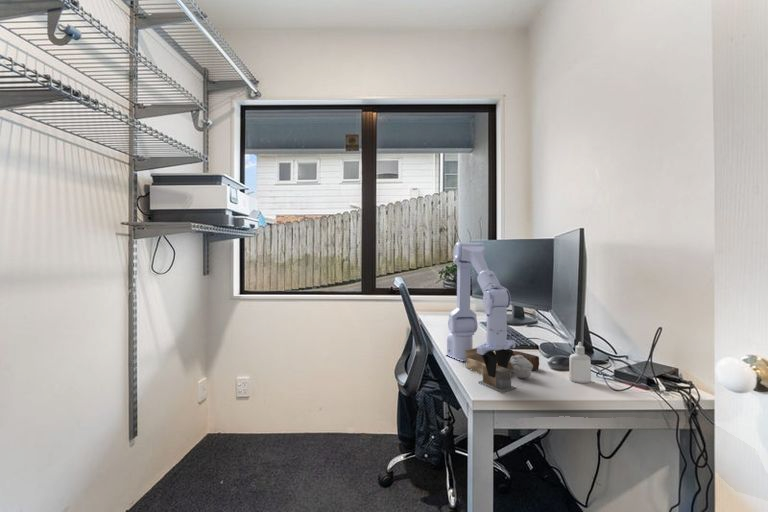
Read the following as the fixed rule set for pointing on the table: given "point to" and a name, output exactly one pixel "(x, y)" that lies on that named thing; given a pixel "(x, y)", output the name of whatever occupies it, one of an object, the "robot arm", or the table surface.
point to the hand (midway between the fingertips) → (496, 374)
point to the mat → (497, 388)
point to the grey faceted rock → (521, 366)
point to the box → (498, 377)
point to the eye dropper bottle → (579, 366)
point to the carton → (478, 361)
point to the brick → (531, 358)
